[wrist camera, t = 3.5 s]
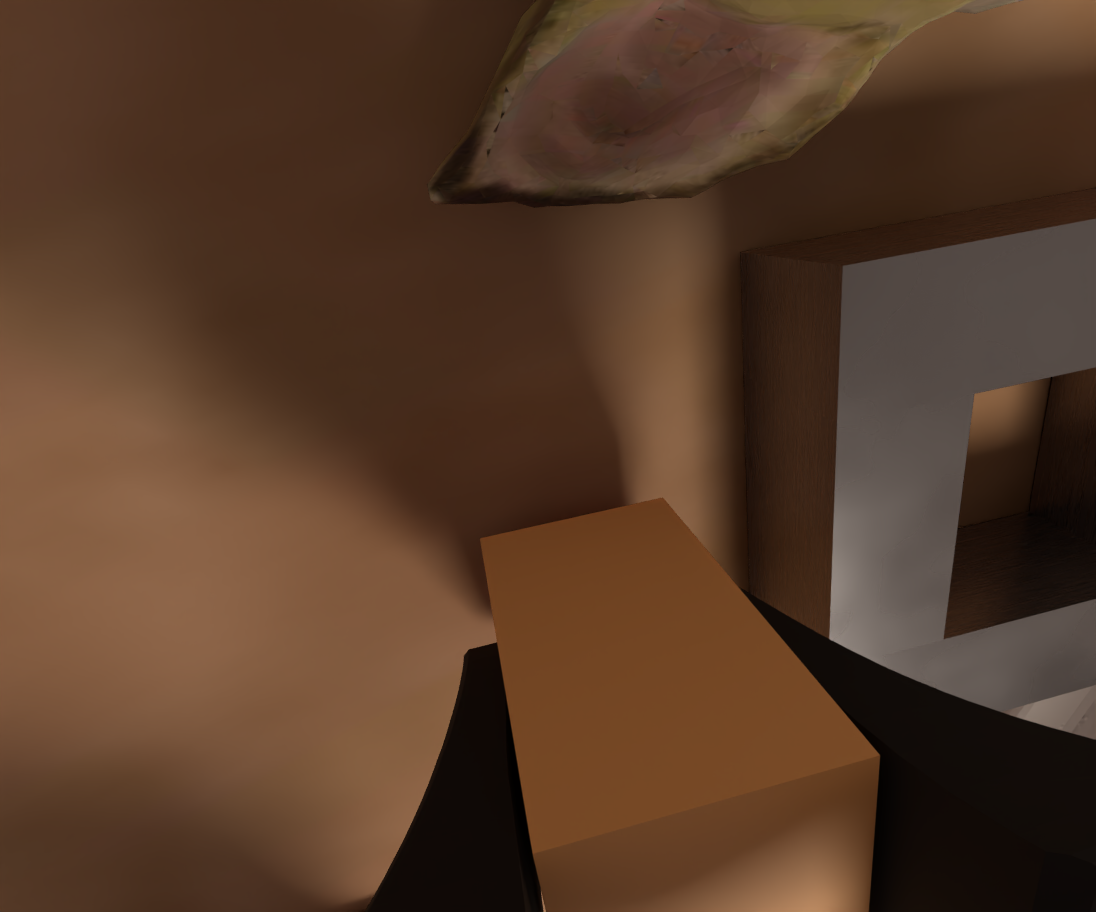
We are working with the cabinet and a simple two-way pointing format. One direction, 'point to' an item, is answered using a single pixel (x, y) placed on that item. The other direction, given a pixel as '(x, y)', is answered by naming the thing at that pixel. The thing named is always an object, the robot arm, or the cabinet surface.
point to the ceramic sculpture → (667, 94)
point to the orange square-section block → (670, 729)
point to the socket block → (927, 444)
